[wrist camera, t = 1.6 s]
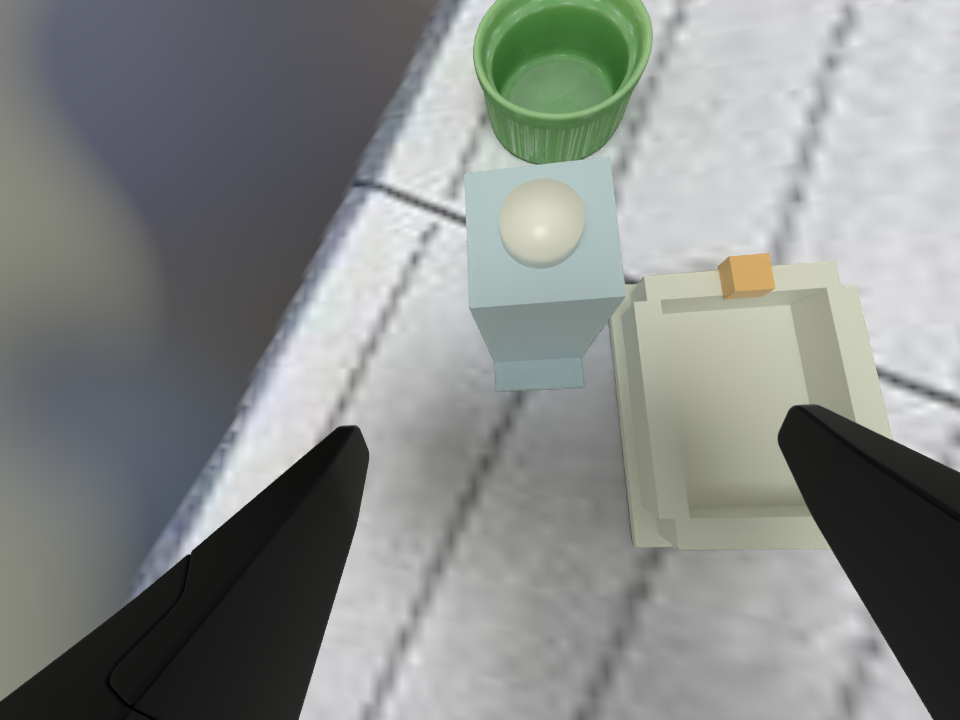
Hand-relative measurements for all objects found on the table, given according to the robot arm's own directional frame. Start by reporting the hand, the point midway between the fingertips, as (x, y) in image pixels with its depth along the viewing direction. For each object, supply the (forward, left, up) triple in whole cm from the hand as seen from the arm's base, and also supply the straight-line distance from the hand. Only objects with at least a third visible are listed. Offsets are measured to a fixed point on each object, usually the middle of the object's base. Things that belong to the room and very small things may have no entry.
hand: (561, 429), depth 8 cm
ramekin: (+15, +12, -13) cm, 23 cm away
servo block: (+4, +4, -12) cm, 14 cm away
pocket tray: (+7, -6, -12) cm, 15 cm away
